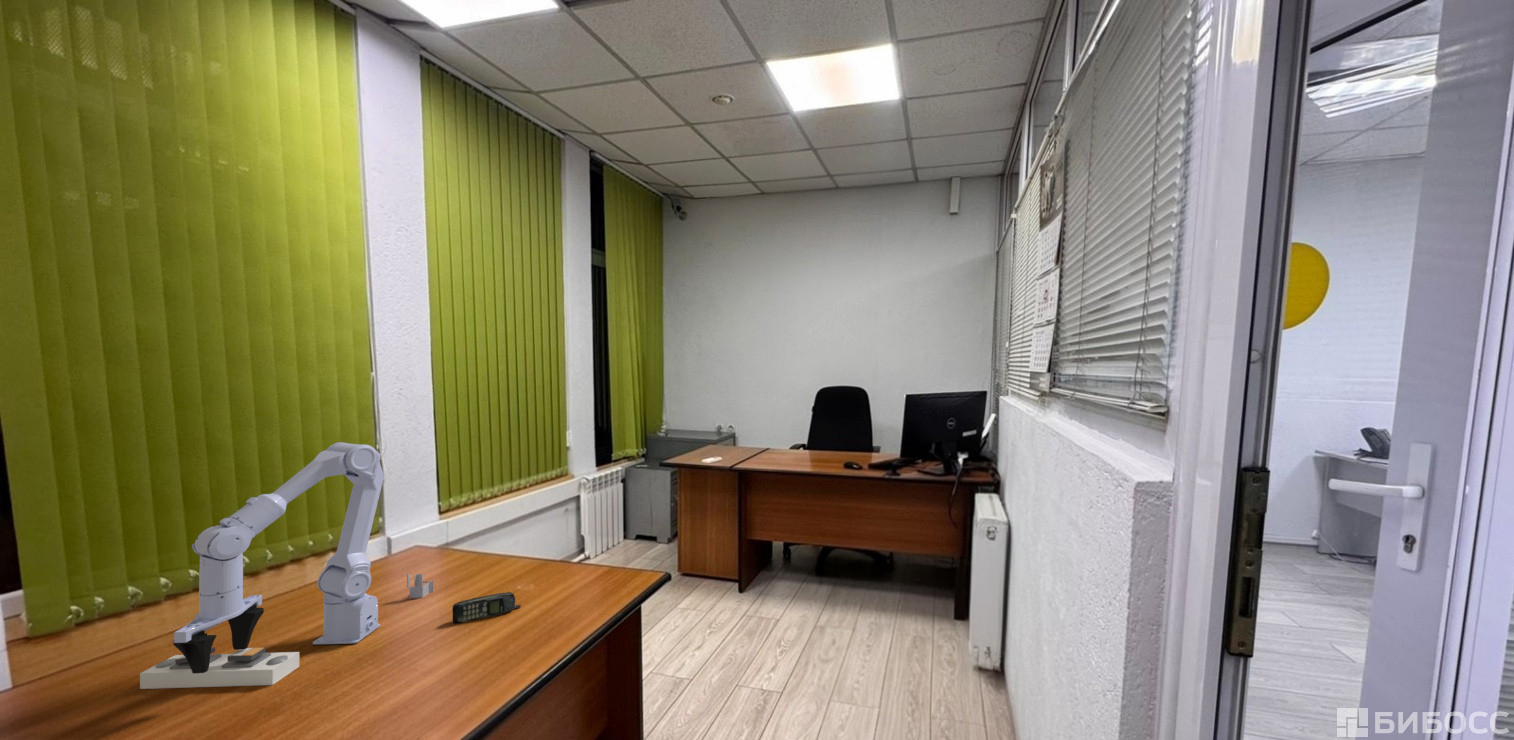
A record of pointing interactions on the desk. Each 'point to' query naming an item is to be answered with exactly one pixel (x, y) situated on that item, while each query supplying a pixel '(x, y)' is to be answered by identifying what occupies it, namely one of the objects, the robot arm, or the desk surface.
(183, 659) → the rocker
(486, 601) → the mobile phone
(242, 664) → the rocker switch panel
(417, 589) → the architectural model
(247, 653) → the rocker
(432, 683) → the desk surface
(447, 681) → the desk surface
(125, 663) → the desk surface
